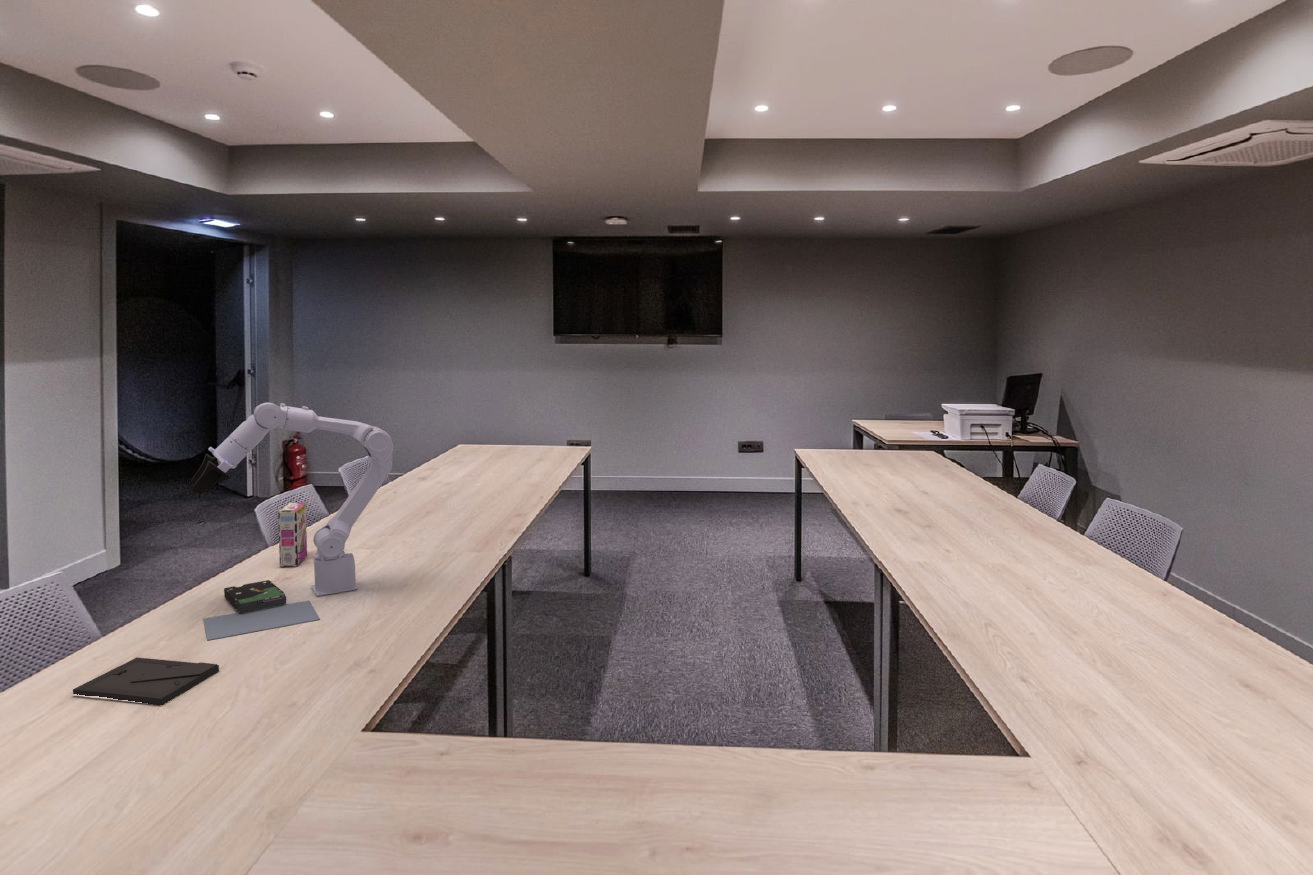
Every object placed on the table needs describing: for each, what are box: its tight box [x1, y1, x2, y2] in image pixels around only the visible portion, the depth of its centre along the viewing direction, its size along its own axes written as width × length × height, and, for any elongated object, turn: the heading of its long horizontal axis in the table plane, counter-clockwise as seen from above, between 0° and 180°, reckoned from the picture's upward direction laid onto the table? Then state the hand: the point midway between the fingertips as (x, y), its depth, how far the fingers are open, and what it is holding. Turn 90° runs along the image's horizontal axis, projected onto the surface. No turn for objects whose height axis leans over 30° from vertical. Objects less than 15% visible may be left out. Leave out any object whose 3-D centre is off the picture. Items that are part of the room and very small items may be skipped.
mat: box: [203, 600, 321, 642], centre depth 161 cm, size 22×14×1 cm, turn 125°
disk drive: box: [223, 579, 287, 613], centre depth 172 cm, size 10×3×15 cm
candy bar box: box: [277, 502, 308, 568], centre depth 203 cm, size 11×5×16 cm, turn 13°
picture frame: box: [72, 657, 220, 706], centre depth 131 cm, size 13×2×18 cm
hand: (195, 487), depth 163 cm, fingers open, 7 cm apart
